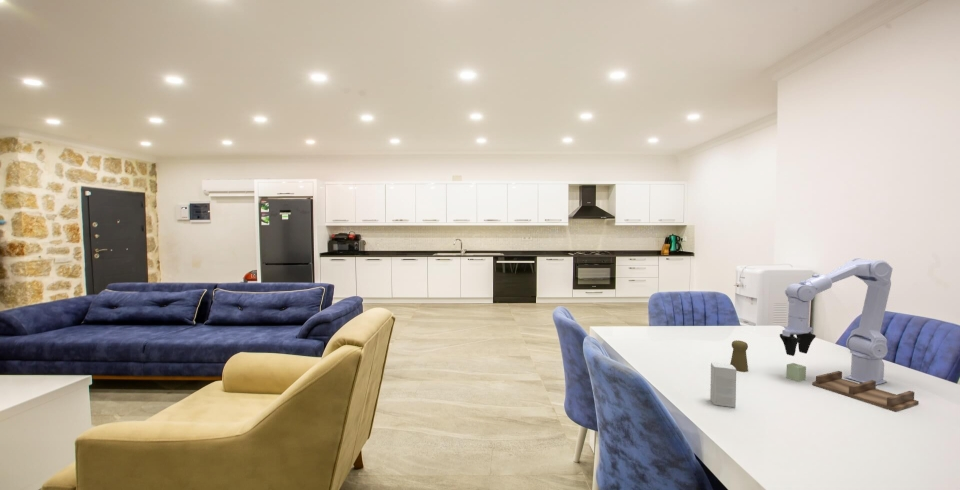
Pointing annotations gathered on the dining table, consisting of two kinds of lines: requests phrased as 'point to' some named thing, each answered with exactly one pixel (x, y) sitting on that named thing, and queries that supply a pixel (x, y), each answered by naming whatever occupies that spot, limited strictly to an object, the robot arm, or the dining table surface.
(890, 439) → the dining table surface
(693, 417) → the dining table surface
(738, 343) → the cork
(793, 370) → the sage block
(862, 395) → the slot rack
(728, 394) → the skincare box
